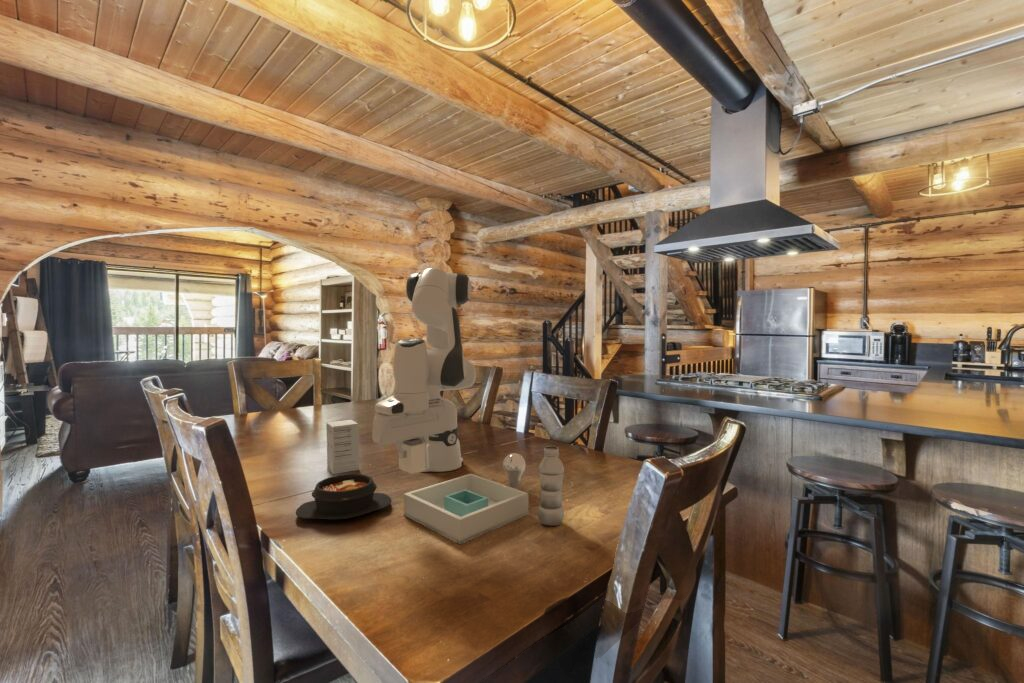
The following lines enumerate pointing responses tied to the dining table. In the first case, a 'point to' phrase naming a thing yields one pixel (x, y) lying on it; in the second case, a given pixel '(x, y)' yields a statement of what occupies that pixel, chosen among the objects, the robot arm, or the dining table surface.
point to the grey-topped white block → (413, 456)
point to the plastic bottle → (551, 488)
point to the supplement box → (342, 446)
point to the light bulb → (514, 469)
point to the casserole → (343, 498)
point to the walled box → (465, 507)
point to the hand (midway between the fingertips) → (411, 455)
